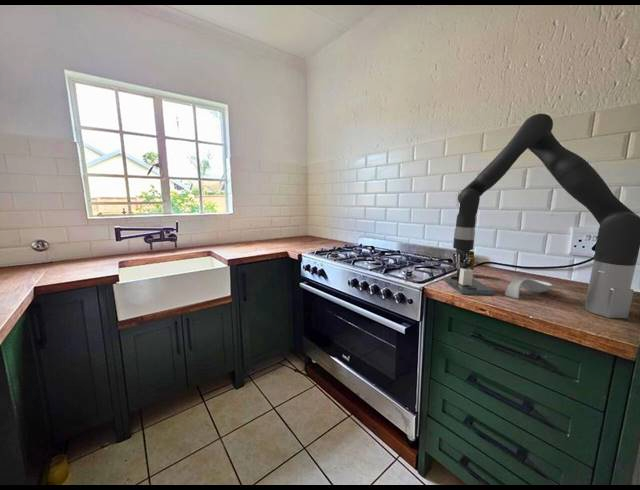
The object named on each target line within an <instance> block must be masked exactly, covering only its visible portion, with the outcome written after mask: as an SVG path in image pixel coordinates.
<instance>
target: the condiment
mask: <svg viewBox="0 0 640 490" xmlns="http://www.w3.org/2000/svg"><path fill="white" fill-rule="evenodd" d="M469 254H470V256H469V259H472V263H471V264H470V266H469V267H468V268H469V269H471V270H473V271H474V266H475V257H474V256H475V251H473V250H470V251H469ZM473 279H476V276H475V275H474V274H473Z"/></svg>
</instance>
